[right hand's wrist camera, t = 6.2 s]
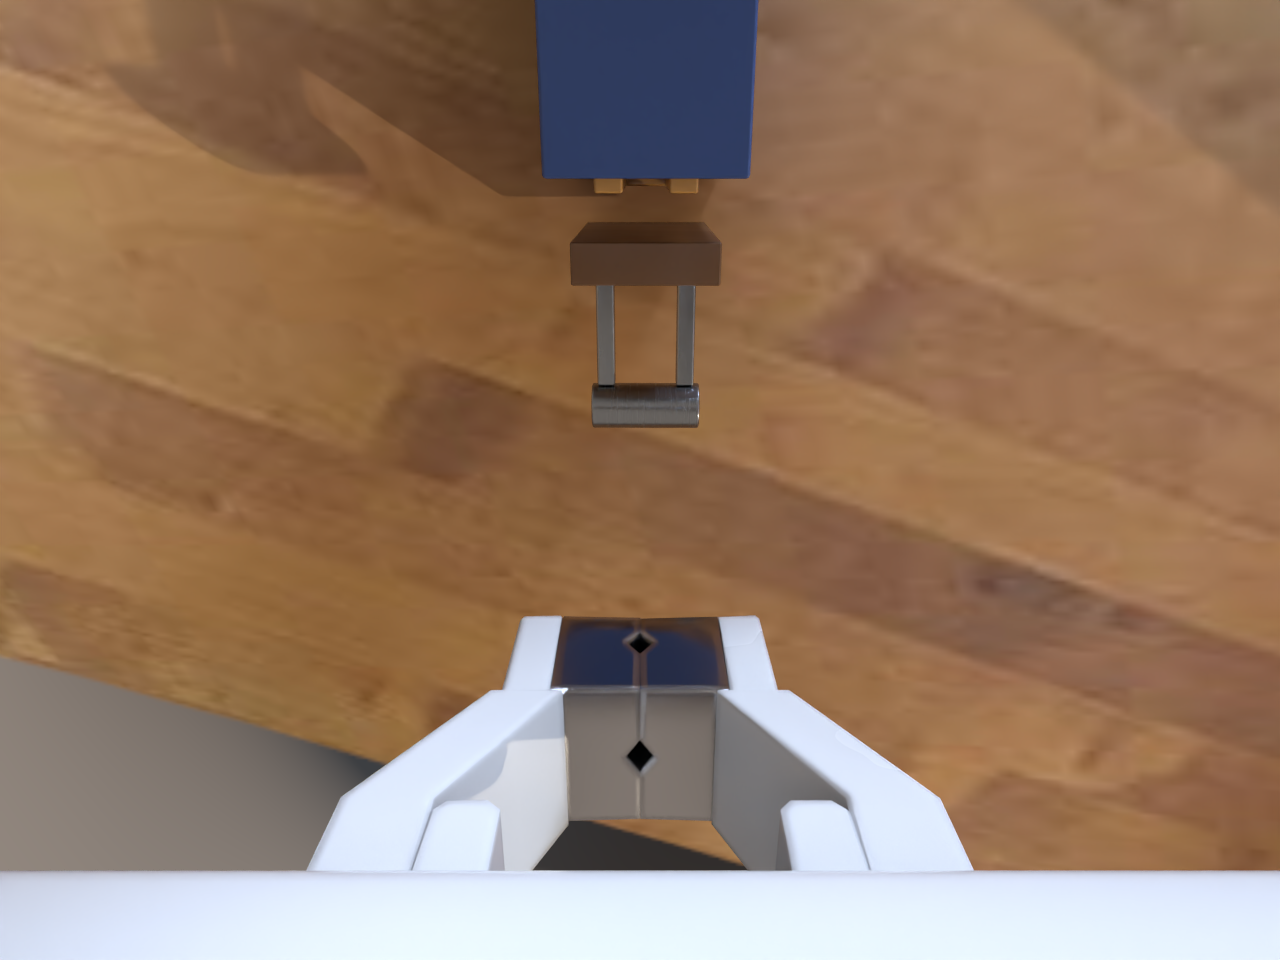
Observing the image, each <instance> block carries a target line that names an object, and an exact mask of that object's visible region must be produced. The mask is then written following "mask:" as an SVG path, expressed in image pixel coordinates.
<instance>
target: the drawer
mask: <svg viewBox="0 0 1280 960" xmlns="http://www.w3.org/2000/svg"><path fill="white" fill-rule="evenodd" d="M626 186H666V187H667V188H668V190H669V192H670V193H697V192H698V179H594V192H595V193H622V191H623V190H624V188H625V187H626ZM721 253H722V243H721V242H720V241H719V240H718V238H717V237H716V236H715V235H714V234H713V232H712V231H711V230H710V229H709V228H708V227H707V225H706V224H705V223H703V222H589V223H587V224H586V225H585V227H584V228H583V229H582V230H581V231H580V232H579V233H578V235H577V236H576V237H575V238H574V239H573V240H572V241H571V243H570V263H571V284H572V285H574V286H596V320H597V370H598V383H593V385H592V425H593V427H605V428H697V427H698V424H699V385H698V383H693V376H694V337H695V297H696V286H719V285H720V280H721ZM615 286H677V321H676V383H615V381H616V372H615Z"/></svg>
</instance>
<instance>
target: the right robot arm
mask: <svg viewBox="0 0 1280 960" xmlns="http://www.w3.org/2000/svg"><path fill="white" fill-rule="evenodd" d="M611 819H667V820H704V821H712V825H713V826H714V828H715V829H716V830H717V831H718V833H719V834H720V835H721V836H722V838H723V839H724V840H725V842H726V843H727V844H728V845H729V847H730V848H731V849H732V850H733V852H734V853H735V854H736V855H737V857H738V858H739V859H740V861H741V862H742V863H743V864H744V866H745V867H746V868H747V869H748V871H532V870H533V869H534V867H535V866H536V865H537V864H538V862H539V861H540V860H541V859H542V857H543V856H544V855H545V854H546V852H547V851H548V850H549V848H550V847H551V846H552V845H553V844H554V842H555V841H556V840H557V838H558V837H559V836H560V835H561V833H562V832H563V831H564V830H565V828H566V827H567V826H568V821H576V820H611ZM0 960H1280V871H974V870H973V868H972V866H971V863H970V861H969V859H968V857H967V855H966V853H965V851H964V848H963V846H962V844H961V842H960V840H959V838H958V836H957V833H956V831H955V829H954V827H953V825H952V823H951V821H950V819H949V816H948V814H947V812H946V810H945V808H944V806H943V804H942V801H941V799H940V798H939V797H938V796H936V795H935V794H933V793H932V792H931V791H929V790H928V789H926V788H925V787H924V786H922V785H921V784H919V783H918V782H917V781H915V780H914V779H912V778H911V777H910V776H908V775H907V774H905V773H904V772H903V771H901V770H900V769H899V768H897V767H896V766H894V765H893V764H892V763H890V762H889V761H887V760H886V759H885V758H883V757H882V756H880V755H879V754H878V753H876V752H875V751H873V750H872V749H871V748H869V747H868V746H866V745H865V744H864V743H862V742H861V741H859V740H858V739H857V738H855V737H854V736H852V735H851V734H850V733H848V732H847V731H845V730H844V729H843V728H841V727H840V726H838V725H837V724H836V723H834V722H833V721H831V720H830V719H829V718H827V717H826V716H824V715H823V714H822V713H820V712H819V711H818V710H816V709H815V708H813V707H812V706H811V705H809V704H808V703H806V702H805V701H804V700H802V699H801V698H799V697H798V696H797V695H795V694H794V693H792V692H791V691H789V690H778V689H777V685H776V681H775V677H774V674H773V670H772V666H771V662H770V658H769V655H768V651H767V647H766V643H765V640H764V636H763V632H762V628H761V624H760V621H759V618H757V617H756V616H755V615H754V616H730V617H690V618H650V619H640V618H621V617H570V616H564V617H563V618H562V617H561V616H525V617H524V618H523V619H522V620H521V621H520V624H519V627H518V631H517V635H516V639H515V643H514V647H513V650H512V654H511V658H510V662H509V666H508V670H507V673H506V677H505V681H504V685H503V689H502V690H491V691H489V692H488V693H486V694H485V695H483V696H482V697H481V698H479V699H478V700H476V701H475V702H474V703H472V704H471V705H469V706H468V707H467V708H465V709H464V710H462V711H461V712H460V713H458V714H457V715H455V716H454V717H453V718H451V719H450V720H448V721H447V722H446V723H444V724H443V725H441V726H440V727H439V728H437V729H436V730H434V731H433V732H432V733H430V734H429V735H427V736H426V737H425V738H423V739H422V740H420V741H419V742H418V743H416V744H415V745H413V746H412V747H410V748H409V749H408V750H406V751H405V752H403V753H402V754H401V755H399V756H398V757H396V758H395V759H394V760H392V761H391V762H389V763H388V764H387V765H385V766H384V767H382V768H381V769H380V770H378V771H377V772H375V773H374V774H373V775H371V776H370V777H368V778H367V779H366V780H364V781H363V782H361V783H360V784H359V785H357V786H356V787H354V788H353V789H352V790H350V791H349V792H347V793H346V794H345V795H343V796H342V797H341V798H340V800H339V802H338V804H337V807H336V809H335V811H334V813H333V815H332V817H331V819H330V821H329V823H328V825H327V828H326V830H325V832H324V834H323V836H322V838H321V841H320V842H319V845H318V847H317V849H316V851H315V853H314V855H313V857H312V859H311V861H310V863H309V866H308V868H307V870H306V871H0Z"/></svg>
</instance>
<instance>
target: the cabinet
mask: <svg viewBox="0 0 1280 960" xmlns="http://www.w3.org/2000/svg"><path fill="white" fill-rule="evenodd" d="M757 18H758V0H535V19H536V42H537V66H538V90H539V114H540V137H541V161H542V176H543V178H546V179H747V178H749V176H750V166H751V145H752V123H753V102H754V81H755V60H756V39H757Z"/></svg>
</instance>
